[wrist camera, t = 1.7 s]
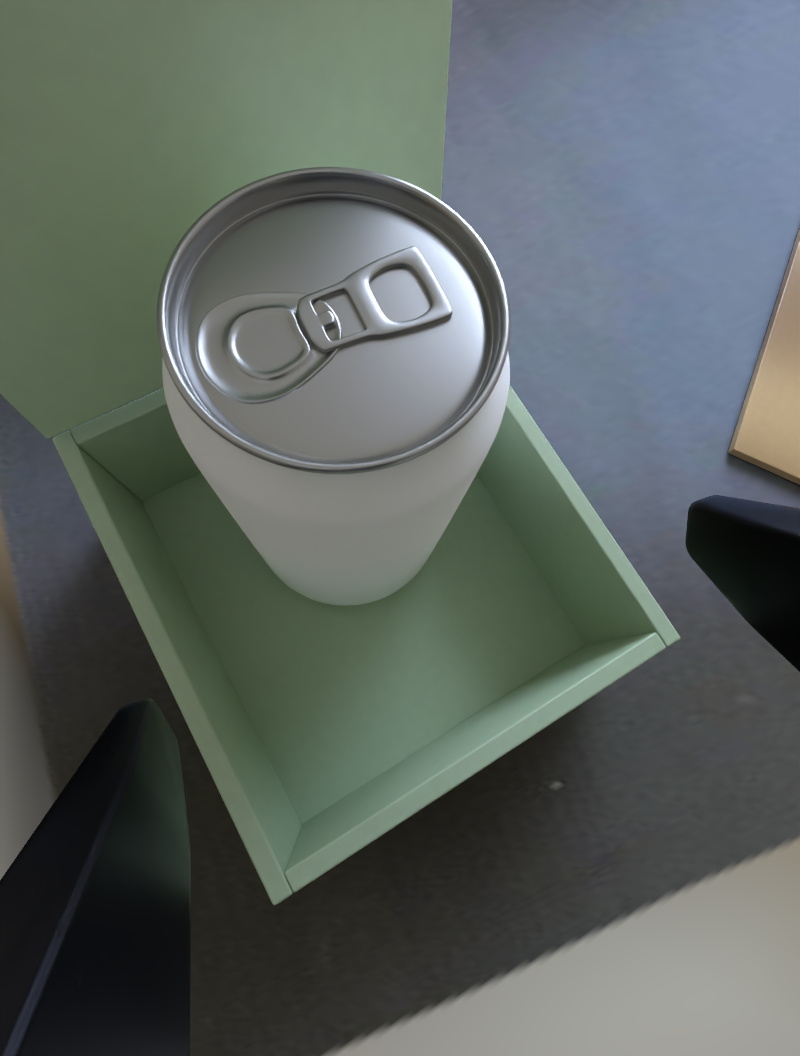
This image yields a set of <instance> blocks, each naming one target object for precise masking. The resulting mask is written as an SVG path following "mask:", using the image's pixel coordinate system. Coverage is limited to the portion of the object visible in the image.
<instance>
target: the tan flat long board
mask: <svg viewBox="0 0 800 1056" xmlns="http://www.w3.org/2000/svg"><path fill="white" fill-rule="evenodd" d="M728 453H730V454H732V455H734V456H736V457H739V458H741V459H743V460H745V461H747V462H750V463H752V464H754V465H756V466H759V467H761V468H763V469H765V470H768V471H770V472H772V473H774V474H776V475H779V476H781V477H783V478H785V479H788V480H790V481H792V482H794V483H797V484H799V485H800V228H799V231H798V234H797V238H796V241H795V244H794V247H793V250H792V253H791V256H790V260H789V263H788V266H787V269H786V272H785V275H784V278H783V282H782V285H781V288H780V291H779V294H778V297H777V300H776V303H775V307H774V310H773V313H772V316H771V319H770V322H769V325H768V329H767V332H766V335H765V338H764V341H763V344H762V347H761V351H760V354H759V357H758V360H757V363H756V366H755V369H754V372H753V376H752V379H751V382H750V385H749V388H748V391H747V394H746V398H745V401H744V404H743V407H742V410H741V413H740V416H739V420H738V423H737V426H736V429H735V432H734V435H733V438H732V441H731V445H730V448H729V451H728Z"/></svg>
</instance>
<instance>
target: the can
mask: <svg viewBox="0 0 800 1056" xmlns="http://www.w3.org/2000/svg"><path fill="white" fill-rule="evenodd" d="M157 331H158V338H159V344H160V348H161V352H162V356H163V359H162V377H163V387H164V393H165V398H166V402H167V406H168V409H169V412H170V415H171V418H172V421H173V423H174V426H175V428H176V430H177V433H178V435H179V437H180V439H181V441H182V443H183V445H184V446H185V448H186V450H187V451H188V453H189V454H190V456H191V458H192V459H193V461H194V463H195V464H196V466H197V467H198V469H199V470H200V471H201V473H202V474H203V476H204V477H205V479H206V480H207V482H208V483H209V484H210V486H211V487H212V489H213V490H214V492H215V493H216V494H217V496H218V497H219V499H220V500H221V501H222V503H223V504H224V506H225V507H226V508H227V510H228V511H229V512H230V514H231V515H232V517H233V518H234V519H235V521H236V522H237V524H238V525H239V526H240V528H241V529H242V530H243V532H244V533H245V535H246V536H247V537H248V539H249V540H250V541H251V543H252V544H253V545H254V547H255V548H256V550H257V551H258V552H259V554H260V555H261V556H262V558H263V559H264V560H265V562H266V563H267V564H268V565H269V567H270V568H271V569H272V570H273V572H274V573H275V574H276V575H277V576H278V577H279V578H280V579H281V580H282V581H283V582H284V583H285V584H286V585H287V586H288V587H290V588H291V589H293V590H294V591H296V592H297V593H299V594H301V595H303V596H305V597H307V598H309V599H312V600H315V601H318V602H321V603H325V604H330V605H339V606H353V605H361V604H366V603H371V602H374V601H377V600H380V599H382V598H385V597H387V596H389V595H391V594H393V593H394V592H396V591H397V590H399V589H400V588H402V587H403V586H404V585H406V584H407V583H408V582H409V581H410V580H411V579H412V578H413V577H414V576H415V575H416V574H417V573H418V572H419V571H420V569H421V568H422V567H423V565H424V564H425V562H426V561H427V559H428V558H429V556H430V555H431V553H432V551H433V550H434V548H435V546H436V544H437V543H438V541H439V539H440V538H441V536H442V534H443V532H444V531H445V529H446V527H447V526H448V524H449V522H450V520H451V519H452V517H453V515H454V513H455V511H456V510H457V508H458V506H459V504H460V503H461V501H462V499H463V497H464V496H465V494H466V492H467V490H468V488H469V487H470V485H471V483H472V481H473V479H474V478H475V476H476V474H477V472H478V470H479V469H480V467H481V465H482V463H483V461H484V459H485V458H486V456H487V454H488V452H489V449H490V447H491V445H492V443H493V441H494V439H495V437H496V435H497V432H498V430H499V427H500V424H501V421H502V418H503V414H504V411H505V407H506V403H507V398H508V392H509V382H510V365H509V355H508V346H509V339H510V308H509V301H508V296H507V292H506V288H505V284H504V281H503V278H502V276H501V273H500V270H499V268H498V266H497V264H496V262H495V260H494V258H493V256H492V254H491V253H490V251H489V249H488V248H487V246H486V245H485V243H484V242H483V240H482V239H481V238H480V236H479V235H478V234H477V233H476V232H475V230H474V229H473V228H472V227H471V226H470V225H469V224H468V223H467V222H466V221H465V220H464V219H463V218H462V217H461V216H460V215H459V214H458V213H457V212H455V211H454V210H453V209H452V208H451V207H449V206H448V205H447V204H445V203H444V202H442V201H441V200H439V199H438V198H436V197H435V196H433V195H432V194H430V193H428V192H426V191H425V190H423V189H421V188H419V187H417V186H415V185H412V184H410V183H408V182H405V181H403V180H400V179H398V178H395V177H392V176H389V175H385V174H382V173H377V172H373V171H368V170H363V169H356V168H347V167H311V168H302V169H296V170H290V171H285V172H281V173H277V174H274V175H270V176H267V177H264V178H261V179H259V180H256V181H254V182H251V183H249V184H247V185H245V186H243V187H241V188H239V189H237V190H235V191H233V192H232V193H230V194H228V195H227V196H225V197H224V198H222V199H221V200H219V201H218V202H217V203H215V204H214V205H213V206H211V207H210V208H209V209H208V210H207V211H206V212H204V213H203V214H202V215H201V216H200V217H199V218H198V219H197V220H196V221H195V222H194V223H193V224H192V226H191V227H190V228H189V229H188V230H187V232H186V233H185V234H184V236H183V237H182V238H181V240H180V241H179V243H178V244H177V246H176V248H175V249H174V251H173V253H172V255H171V257H170V259H169V261H168V263H167V266H166V269H165V271H164V274H163V277H162V281H161V284H160V289H159V294H158V301H157Z"/></svg>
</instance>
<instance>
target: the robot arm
mask: <svg viewBox="0 0 800 1056" xmlns="http://www.w3.org/2000/svg"><path fill="white" fill-rule="evenodd" d="M686 548H687V551H688V553H689V555H690V556H691V558H692V559H693V560H694V561H695V562H696V563H697V565H698V566H699V567H700V568H701V569H702V570H703V571H704V573H705V574H706V575H707V576H708V577H709V578H710V580H711V581H712V582H713V583H714V584H715V585H716V586H717V588H718V589H719V590H720V591H721V592H722V593H723V595H724V596H725V597H726V598H727V599H728V600H729V601H730V603H731V604H732V605H733V606H734V607H735V608H736V610H737V611H738V612H739V613H740V614H741V615H742V616H743V617H744V618H745V620H746V621H747V622H748V623H749V624H750V625H751V626H752V627H753V628H754V629H755V630H756V631H757V632H758V633H759V634H760V635H761V636H762V637H764V638H765V639H766V640H767V641H768V642H769V643H770V644H771V645H772V646H773V647H774V648H775V649H776V650H777V651H778V652H779V653H780V654H781V655H783V656H784V657H785V658H786V659H787V660H788V661H789V662H790V663H791V664H792V665H793V666H794V667H795V668H796V669H797V670H798V671H799V672H800V508H793V507H787V506H781V505H775V504H769V503H763V502H756V501H750V500H744V499H738V498H732V497H725V496H719V495H713V496H709V497H706V498H703V499H701V500H698V501H695V502H694V503H692V504H691V506H690V508H689V510H688V520H687V532H686ZM190 912H191V859H190V840H189V829H188V821H187V812H186V803H185V795H184V786H183V778H182V769H181V761H180V752H179V746H178V741H177V738H176V736H175V733H174V732H173V730H172V728H171V727H170V725H169V723H168V722H167V720H166V718H165V717H164V715H163V714H162V712H161V710H160V709H159V707H158V705H157V704H156V702H155V701H154V700H152V699H150V698H144V699H141V700H139V701H136V702H133V703H130V704H127V705H125V706H123V707H121V708H120V709H119V710H118V712H117V713H116V714H115V716H114V717H113V719H112V720H111V722H110V723H109V724H108V726H107V727H106V729H105V730H104V732H103V733H102V735H101V736H100V737H99V739H98V740H97V742H96V743H95V745H94V746H93V748H92V749H91V750H90V752H89V753H88V755H87V756H86V758H85V759H84V761H83V762H82V763H81V765H80V766H79V768H78V769H77V771H76V772H75V774H74V775H73V776H72V778H71V779H70V781H69V782H68V784H67V785H66V787H65V788H64V789H63V791H62V792H61V794H60V795H59V797H58V798H57V800H56V801H55V802H54V804H53V805H52V807H51V808H50V810H49V811H48V813H47V814H46V815H45V817H44V818H43V820H42V821H41V823H40V824H39V826H38V827H37V828H36V830H35V831H34V833H33V834H32V836H31V837H30V838H29V840H28V841H27V843H26V844H25V846H24V847H23V849H22V850H21V851H20V853H19V854H18V856H17V857H16V859H15V860H14V862H13V863H12V864H11V866H10V867H9V869H8V870H7V872H6V873H5V875H4V876H3V877H2V879H1V880H0V1056H190Z"/></svg>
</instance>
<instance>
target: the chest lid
mask: <svg viewBox="0 0 800 1056" xmlns="http://www.w3.org/2000/svg"><path fill="white" fill-rule="evenodd" d="M451 15H452V0H0V395H2V396H3V397H4V398H5V399H6V400H7V401H8V402H9V403H10V404H11V405H12V406H13V407H14V408H15V409H16V410H17V411H18V412H19V413H20V414H21V415H22V416H23V417H24V418H25V419H27V420H28V421H29V422H30V423H31V424H32V425H33V426H34V427H35V428H36V429H37V430H38V431H39V432H40V433H41V434H42V435H43V436H44V437H45V438H47V439H48V438H51V437H53V436H55V435H58V434H60V433H62V432H64V431H67V430H69V429H71V428H73V427H76V426H78V425H80V424H82V423H84V422H87V421H89V420H91V419H93V418H96V417H98V416H100V415H102V414H105V413H107V412H109V411H111V410H114V409H116V408H118V407H120V406H123V405H125V404H127V403H129V402H132V401H134V400H136V399H138V398H141V397H143V396H145V395H147V394H150V393H152V392H154V391H156V390H158V389H161V388H163V377H162V359H163V356H162V352H161V348H160V344H159V338H158V331H157V301H158V294H159V289H160V284H161V281H162V277H163V274H164V271H165V269H166V266H167V263H168V261H169V259H170V257H171V255H172V253H173V251H174V249H175V248H176V246H177V244H178V243H179V241H180V240H181V238H182V237H183V236H184V234H185V233H186V232H187V230H188V229H189V228H190V227H191V226H192V224H193V223H194V222H195V221H196V220H197V219H198V218H199V217H200V216H201V215H202V214H203V213H204V212H206V211H207V210H208V209H209V208H210V207H211V206H213V205H214V204H215V203H217V202H218V201H219V200H221V199H222V198H224V197H225V196H227V195H228V194H230V193H232V192H233V191H235V190H237V189H239V188H241V187H243V186H245V185H247V184H249V183H251V182H254V181H256V180H259V179H261V178H264V177H267V176H270V175H274V174H277V173H281V172H285V171H290V170H296V169H302V168H311V167H347V168H356V169H363V170H368V171H373V172H377V173H382V174H385V175H389V176H392V177H395V178H398V179H400V180H403V181H405V182H408V183H410V184H412V185H415V186H417V187H419V188H421V189H423V190H425V191H426V192H428V193H430V194H432V195H433V196H435V197H436V198H438V199H439V200H441V193H442V176H443V158H444V140H445V122H446V104H447V87H448V69H449V51H450V33H451Z"/></svg>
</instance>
